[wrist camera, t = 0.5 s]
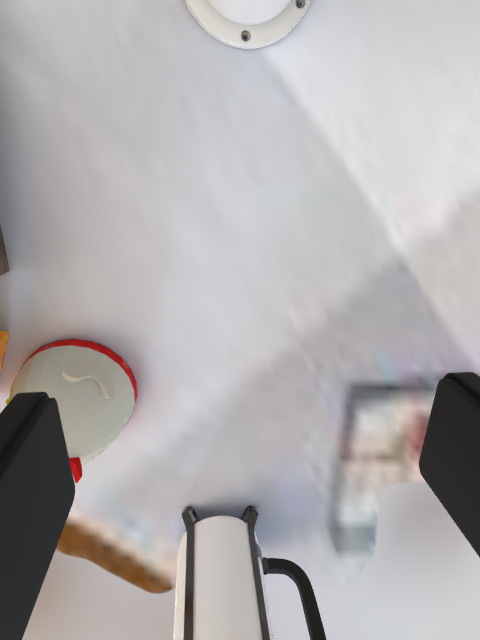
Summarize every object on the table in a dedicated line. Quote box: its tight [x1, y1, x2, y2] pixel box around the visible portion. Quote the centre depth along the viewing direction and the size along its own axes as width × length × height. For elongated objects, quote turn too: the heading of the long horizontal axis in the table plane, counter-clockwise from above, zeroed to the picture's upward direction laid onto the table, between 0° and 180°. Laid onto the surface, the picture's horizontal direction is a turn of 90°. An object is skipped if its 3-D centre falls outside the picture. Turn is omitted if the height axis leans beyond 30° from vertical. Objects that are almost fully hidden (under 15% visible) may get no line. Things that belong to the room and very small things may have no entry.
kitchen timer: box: [6, 339, 137, 483], centre depth 40 cm, size 14×14×15 cm
